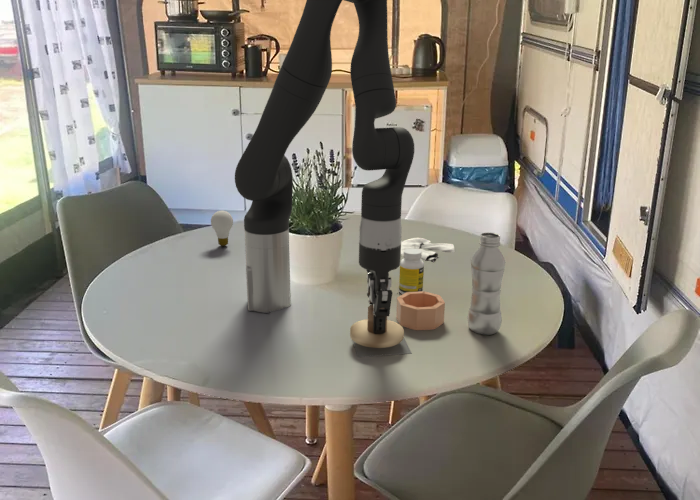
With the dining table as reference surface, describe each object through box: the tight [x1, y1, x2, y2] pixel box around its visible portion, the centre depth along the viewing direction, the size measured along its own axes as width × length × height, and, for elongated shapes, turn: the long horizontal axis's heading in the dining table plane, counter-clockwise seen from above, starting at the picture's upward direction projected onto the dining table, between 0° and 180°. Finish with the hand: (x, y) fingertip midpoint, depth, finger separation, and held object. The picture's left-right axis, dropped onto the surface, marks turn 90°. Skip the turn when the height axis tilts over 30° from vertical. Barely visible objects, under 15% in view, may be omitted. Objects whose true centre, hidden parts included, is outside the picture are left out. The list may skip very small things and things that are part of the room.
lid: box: [349, 304, 405, 348], centre depth 126 cm, size 10×10×6 cm
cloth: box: [401, 237, 456, 263], centre depth 181 cm, size 20×22×2 cm
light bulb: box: [210, 210, 234, 248], centre depth 183 cm, size 6×6×10 cm
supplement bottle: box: [398, 249, 425, 295], centre depth 153 cm, size 5×5×10 cm
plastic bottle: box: [466, 232, 506, 336], centre depth 132 cm, size 6×7×20 cm
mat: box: [351, 337, 412, 358], centre depth 128 cm, size 10×9×1 cm
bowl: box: [395, 291, 446, 331], centre depth 138 cm, size 9×9×5 cm
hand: (377, 327), depth 127 cm, fingers closed on lid, 3 cm apart
